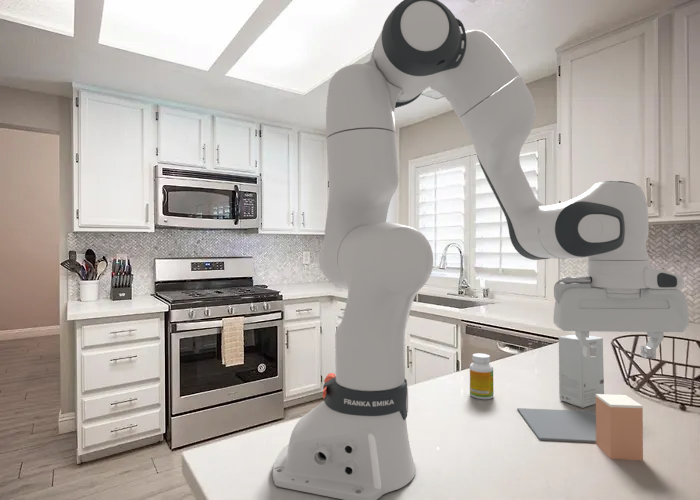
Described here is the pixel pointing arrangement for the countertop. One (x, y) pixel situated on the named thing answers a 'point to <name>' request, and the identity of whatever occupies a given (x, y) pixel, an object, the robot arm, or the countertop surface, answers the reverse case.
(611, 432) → the block
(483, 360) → the supplement bottle
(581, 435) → the mat
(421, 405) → the countertop surface
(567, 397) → the skincare box
